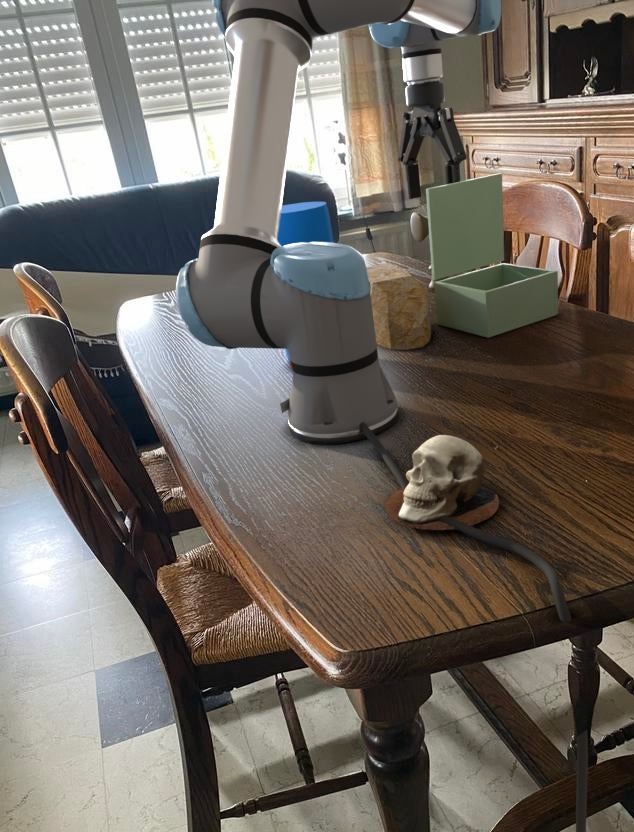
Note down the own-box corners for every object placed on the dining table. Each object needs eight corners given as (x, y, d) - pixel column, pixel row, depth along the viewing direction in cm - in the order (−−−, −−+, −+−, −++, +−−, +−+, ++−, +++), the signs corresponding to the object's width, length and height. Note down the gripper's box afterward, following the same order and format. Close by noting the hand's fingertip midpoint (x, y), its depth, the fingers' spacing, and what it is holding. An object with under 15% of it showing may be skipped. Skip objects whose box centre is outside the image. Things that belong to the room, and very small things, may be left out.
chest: (558, 314, 136) (557, 270, 132) (488, 338, 129) (485, 292, 125) (504, 303, 147) (502, 262, 143) (437, 324, 140) (433, 282, 136)
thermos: (293, 377, 123) (263, 217, 111) (284, 359, 132) (255, 209, 120) (357, 364, 125) (334, 205, 113) (343, 347, 134) (320, 199, 122)
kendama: (415, 291, 165) (405, 194, 155) (454, 282, 168) (447, 186, 158) (427, 295, 160) (417, 196, 150) (466, 286, 163) (460, 188, 153)
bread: (445, 341, 130) (441, 283, 125) (385, 354, 128) (378, 295, 123) (388, 300, 161) (382, 252, 156) (339, 309, 159) (331, 261, 154)
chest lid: (502, 173, 135) (480, 172, 140) (428, 189, 128) (408, 187, 132) (504, 260, 143) (483, 257, 147) (434, 280, 136) (415, 275, 140)
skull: (443, 544, 71) (387, 453, 72) (402, 572, 80) (353, 491, 81) (530, 493, 76) (477, 410, 78) (483, 525, 85) (436, 450, 87)
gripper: (480, 74, 137) (486, 197, 147) (403, 85, 156) (414, 194, 166) (448, 78, 134) (456, 204, 144) (373, 89, 153) (386, 200, 163)
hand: (433, 199), depth 155 cm, fingers open, 13 cm apart
